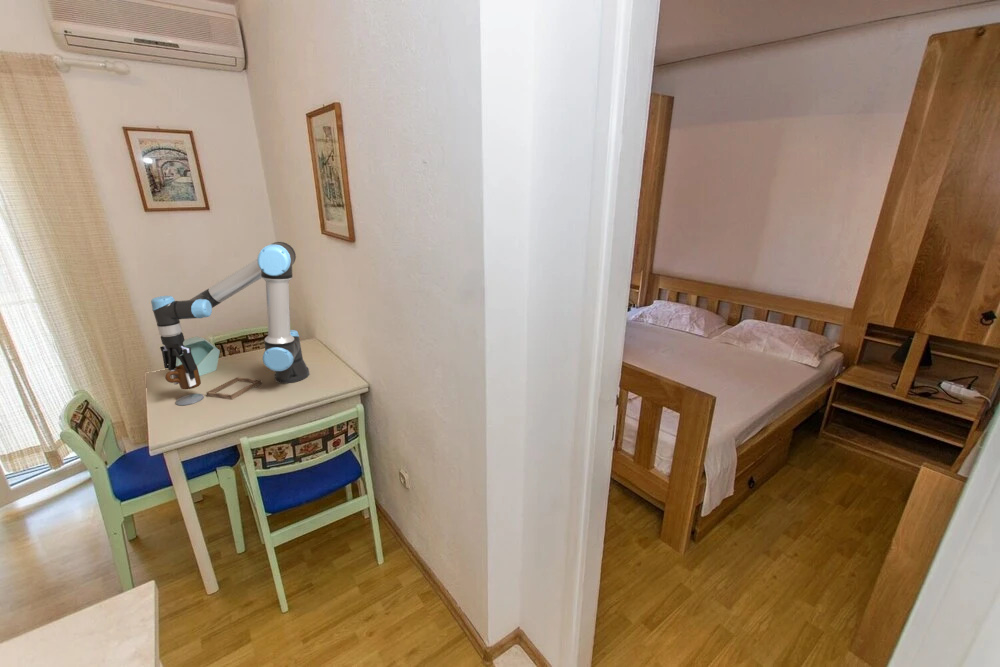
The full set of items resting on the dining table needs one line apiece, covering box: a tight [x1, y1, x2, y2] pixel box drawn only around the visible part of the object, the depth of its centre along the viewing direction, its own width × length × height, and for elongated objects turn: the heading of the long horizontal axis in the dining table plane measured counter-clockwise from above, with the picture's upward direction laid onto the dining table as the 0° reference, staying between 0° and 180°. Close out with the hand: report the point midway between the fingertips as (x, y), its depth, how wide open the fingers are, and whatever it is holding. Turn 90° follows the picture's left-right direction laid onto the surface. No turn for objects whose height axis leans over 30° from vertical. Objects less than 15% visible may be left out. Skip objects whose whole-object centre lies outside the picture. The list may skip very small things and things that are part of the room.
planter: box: [176, 335, 221, 376], centre depth 213 cm, size 17×8×21 cm
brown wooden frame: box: [205, 376, 262, 400], centre depth 197 cm, size 14×17×2 cm
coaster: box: [175, 393, 204, 407], centre depth 188 cm, size 10×10×1 cm
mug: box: [164, 364, 202, 390], centre depth 185 cm, size 12×8×9 cm, turn 151°
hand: (185, 384), depth 185 cm, fingers closed on mug, 7 cm apart
